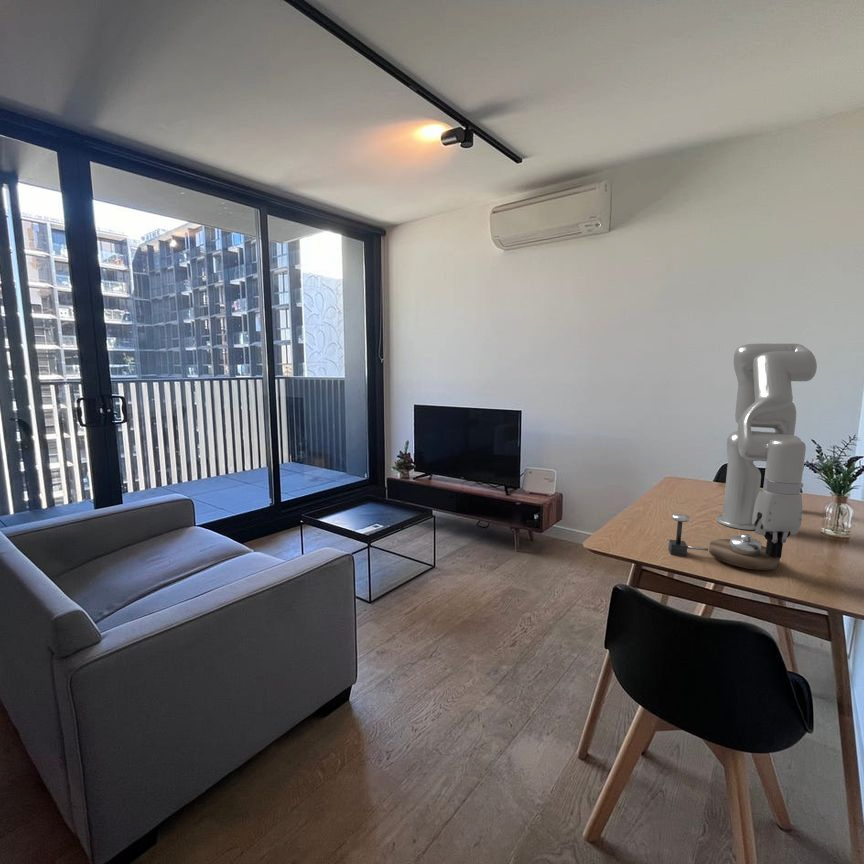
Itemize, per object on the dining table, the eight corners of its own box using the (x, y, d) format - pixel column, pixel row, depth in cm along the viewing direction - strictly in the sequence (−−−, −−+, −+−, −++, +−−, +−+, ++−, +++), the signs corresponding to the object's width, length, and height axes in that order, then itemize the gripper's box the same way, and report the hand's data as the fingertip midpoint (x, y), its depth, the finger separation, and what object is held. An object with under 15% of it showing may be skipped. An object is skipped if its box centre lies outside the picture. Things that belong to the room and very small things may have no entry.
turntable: (711, 541, 138) (713, 522, 137) (779, 554, 129) (781, 534, 128) (706, 559, 125) (708, 538, 124) (781, 575, 116) (783, 553, 115)
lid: (729, 544, 131) (731, 528, 130) (759, 549, 127) (761, 534, 126) (729, 552, 125) (731, 536, 124) (760, 558, 121) (762, 542, 121)
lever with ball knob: (670, 554, 131) (673, 517, 129) (667, 548, 135) (670, 512, 133) (709, 559, 128) (713, 521, 126) (705, 553, 132) (709, 516, 130)
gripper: (796, 483, 122) (788, 549, 124) (742, 483, 121) (735, 550, 123) (822, 490, 114) (812, 561, 117) (765, 491, 113) (757, 562, 116)
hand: (773, 555), depth 120 cm, fingers closed
